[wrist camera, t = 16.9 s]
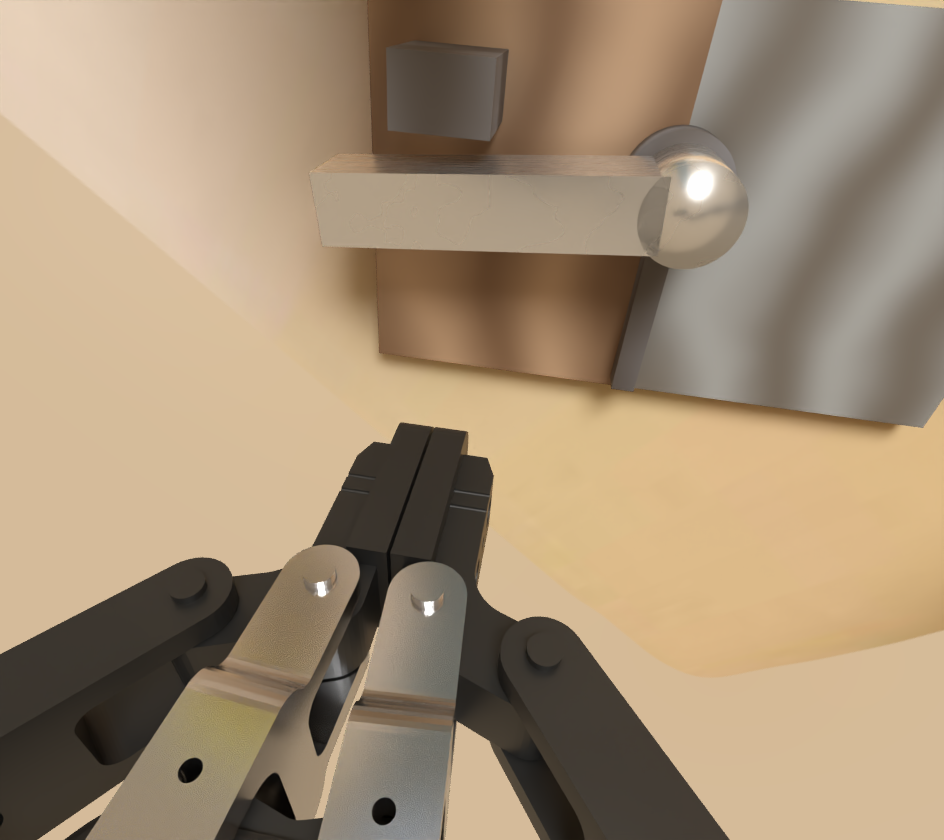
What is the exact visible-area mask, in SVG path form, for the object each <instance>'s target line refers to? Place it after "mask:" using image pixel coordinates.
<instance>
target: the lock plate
mask: <svg viewBox="0 0 944 840" xmlns="http://www.w3.org/2000/svg"><path fill="white" fill-rule="evenodd" d="M367 2H368V31H369V61H370V91H371V120H372V150H373V154H451V155H600V156H653V155H654V154H656V153H657V152H659V151H660V150H662V149H664V148H666V147H669V146H672V145H675V144H680V143H695V144H700V145H703V146H705V147H708V148H709V149H711V150H713V151H714V152H715V153H716V154H717V155H718V156H719V157H720V158H721V159H722V160H723V161H724V163H725V164H726V165H727V166H728V167H729V168H730V169H731V170H732V171H733V173H734V174H735V175H736V176H737V177H738V178H739V179H740V181H741V182H742V184H743V185H744V187H745V190H746V192H747V196H748V204H749V210H748V217H747V221H746V225H745V227H744V230H743V232H742V234H741V235H740V237H739V239H738V240H737V241H736V243H735V244H734V245H733V246H732V247H731V249H730V250H729V251H728V252H726V253H725V254H724V255H723V256H721V257H720V258H718V259H717V260H715V261H713V262H711V263H709V264H707V265H705V266H702V267H698V268H694V269H673V268H669V267H666V266H663V265H661V264H659V263H657V262H656V261H654V260H653V259H652V258H651V257H650V256H622V255H589V254H555V253H521V252H487V251H453V250H419V249H386V248H376V269H377V299H378V328H379V353H385V354H392V355H399V356H406V357H414V358H421V359H428V360H435V361H443V362H450V363H457V364H464V365H472V366H479V367H486V368H493V369H500V370H508V371H515V372H522V373H529V374H537V375H544V376H551V377H558V378H566V379H573V380H580V381H587V382H595V383H602V384H609V385H611V389H618V390H625V391H632V392H633V391H634V388H638V389H645V390H652V391H660V392H667V393H674V394H681V395H689V396H696V397H703V398H710V399H718V400H725V401H732V402H739V403H747V404H754V405H761V406H768V407H776V408H783V409H790V410H797V411H804V412H812V413H819V414H826V415H833V416H841V417H848V418H855V419H862V420H870V421H877V422H884V423H891V424H899V425H906V426H913V427H920V428H923V427H924V425H925V424H926V423H927V421H928V420H929V418H930V417H931V415H932V414H933V412H934V411H935V410H936V408H937V407H938V405H939V404H940V402H941V401H942V399H943V398H944V9H942V8H930V7H918V6H906V5H894V4H882V3H870V2H858V1H846V0H367Z"/></svg>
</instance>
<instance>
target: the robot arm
mask: <svg viewBox="0 0 944 840" xmlns="http://www.w3.org/2000/svg"><path fill="white" fill-rule="evenodd" d="M467 451H468V432H467V431H460V430H452V429H445V428H438V427H435V428H434V427H430V426H423V425H416V424H409V423H400V424H399V426H398V428H397V430H396V432H395V435H394V437H393V439H392V441H391V444H386V443H379V442H373V443H372V444H371V445H370V446H368V447H367V448H366V449H365V450H364V451H362V452H361V453H360V454H359V455H358V456H357V457H356V460H355V461H354V463H353V466H352V467H351V469H350V471H349V475H348V477H346V480H345V482H344V484H343V486H342V489H341V491H340V492H339V494H338V496H337V498H336V500H335V502H334V504H333V506H332V508H331V510H330V512H329V514H328V516H327V518H326V520H325V522H324V524H323V526H322V528H321V530H320V532H319V534H318V536H317V538H316V540H315V542H314V544H313V546H312V547H310V548H307V549H305V550H303V551H301V552H299V553H297V554H296V555H295V556H293V557H292V558H291V559H290V560H289V561H288V562H287V563H286V565H285V566H284V568H283V569H280V570H277V571H273V572H267V573H260V574H250V575H242V576H233V577H232V574H231V572H230V571H229V568H228V567H227V566H226V565H225V564H224V563H222V562H221V561H218V560H216V559H212V558H193V559H188V560H185V561H182V562H179V563H177V564H175V565H173V566H171V567H169V568H167V569H165V570H163V571H161V572H159V573H158V574H155V575H153V576H152V577H150V578H148V579H146V580H144V581H142V582H140V583H138V584H136V585H134V586H132V587H130V588H128V589H127V590H124V591H122V592H121V593H118V594H116V595H115V596H113V597H111V598H109V599H107V600H105V601H103V602H101V603H99V604H97V605H95V606H93V607H91V608H89V609H87V610H85V611H83V612H81V613H80V614H78V615H76V616H74V617H72V618H70V619H68V620H66V621H64V622H62V623H60V624H58V625H56V626H54V627H52V628H50V629H49V630H46V631H45V632H43V633H41V634H39V635H37V636H35V637H33V638H31V639H29V640H27V641H25V642H23V643H21V644H20V645H17V646H15V647H13V648H12V649H10V650H8V651H6V652H4V653H2V654H0V840H37V839H39V838H40V837H42V836H43V835H45V834H46V833H48V832H49V831H51V830H52V829H53V828H55V827H56V826H58V825H59V824H61V823H62V822H64V821H65V820H66V819H68V818H69V817H71V816H72V815H74V814H75V813H77V812H78V811H80V810H81V809H83V808H84V807H85V806H87V805H88V804H90V803H91V802H93V801H94V800H96V799H97V798H98V797H100V796H101V795H103V794H104V793H106V792H107V791H109V790H110V789H112V788H113V787H114V786H116V785H117V784H119V783H120V782H122V781H123V780H124V781H123V783H122V785H121V786H120V788H119V789H118V791H117V792H116V794H115V795H114V797H113V798H112V800H111V801H110V803H109V804H108V806H107V807H106V809H105V810H104V812H103V813H102V815H100V816H98V817H97V818H95V819H93V820H92V821H90V822H88V823H87V824H85V825H84V826H83V827H81V828H80V829H78V830H77V831H76V832H74V833H73V834H71V835H70V836H69V837H67V838H66V839H65V840H445V834H446V824H447V814H448V802H449V792H450V782H451V772H452V763H453V752H454V743H455V734H456V725H457V721H458V722H459V723H461V724H463V725H464V726H466V727H468V728H469V729H471V730H473V731H474V732H476V733H477V734H479V735H481V736H482V737H484V738H486V739H487V740H489V741H490V743H491V746H492V749H493V751H494V753H495V755H496V757H497V759H498V761H499V763H500V764H501V766H502V768H503V770H504V772H505V774H506V776H507V778H508V780H509V781H510V783H511V785H512V787H513V789H514V791H515V792H516V795H517V796H518V798H519V800H520V802H521V804H522V806H523V808H524V809H525V811H526V813H527V815H528V817H529V819H530V821H531V823H532V825H533V827H534V828H535V830H536V832H537V834H538V836H539V838H540V840H729V838H728V837H727V836H726V834H725V833H724V832H723V830H722V829H721V828H720V826H719V825H718V824H717V822H716V821H715V820H714V818H713V817H712V816H711V814H710V813H709V812H708V810H707V809H706V807H705V806H704V805H703V803H702V802H701V801H700V800H699V798H698V797H697V795H696V794H695V793H694V792H693V790H692V789H691V788H690V786H689V785H688V783H687V782H686V781H685V779H684V778H683V777H682V775H681V774H680V773H679V771H678V770H677V769H676V767H675V766H674V765H673V763H672V762H671V761H670V759H669V758H668V756H667V755H666V754H665V752H664V751H663V750H662V749H661V747H660V746H659V744H658V743H657V742H656V740H655V739H654V738H653V736H652V735H651V734H650V732H649V731H648V730H647V728H646V727H645V726H644V724H643V723H642V722H641V720H640V719H639V718H638V716H637V715H636V714H635V712H634V711H633V710H632V708H631V707H630V706H629V704H628V703H627V701H626V700H625V699H624V697H623V696H622V695H621V694H620V692H619V691H618V689H617V688H616V687H615V685H614V684H613V683H612V681H611V680H610V679H609V678H608V676H607V675H606V673H605V672H604V671H603V669H602V668H601V667H600V666H599V664H598V663H597V661H596V660H595V659H594V657H593V656H592V655H591V653H590V652H589V651H588V649H587V648H586V646H585V645H584V644H583V642H582V641H581V640H580V638H579V637H578V636H577V635H576V634H575V632H573V631H572V630H571V629H570V628H569V627H568V626H566V625H565V624H563V623H561V622H559V621H557V620H555V619H551V618H548V617H530V618H526V619H523V620H520V621H519V622H518V621H516V620H514V619H512V618H510V617H508V616H506V615H504V614H502V613H500V612H499V611H497V610H495V609H494V608H492V607H491V606H490V605H489V604H488V603H487V602H486V601H485V600H484V599H483V597H482V596H481V594H480V593H479V591H478V588H477V584H478V579H479V573H480V568H481V563H482V557H483V552H484V547H485V542H486V536H487V531H488V526H489V518H490V507H491V497H492V487H493V477H494V475H493V473H492V470H491V467H490V464H489V462H488V459H487V458H483V457H476V456H470V455H467ZM377 627H379V629H378V633H377V637H376V641H375V645H374V650H373V653H372V658H371V662H370V666H369V670H368V674H367V678H366V682H365V686H364V690H363V694H362V696H361V698H360V700H359V701H356V702H355V704H354V706H353V708H352V710H351V713H350V716H349V719H348V723H347V727H346V730H345V735H344V738H343V742H342V746H341V750H340V754H339V758H338V762H337V766H336V770H335V774H334V778H333V782H332V786H331V790H330V793H329V797H328V801H327V805H326V809H325V813H324V817H323V818H318V819H314V817H315V815H316V812H317V809H318V806H319V803H320V799H321V796H322V791H323V786H324V780H325V773H326V769H327V765H328V762H329V759H330V756H331V754H332V751H333V749H334V747H335V744H336V742H337V739H338V737H339V734H340V732H341V729H342V727H343V725H344V722H345V720H346V717H347V715H348V712H349V710H350V707H351V705H352V703H353V700H354V698H355V695H356V693H357V690H358V688H359V685H360V683H361V680H362V678H363V676H364V673H365V670H366V669H367V666H368V662H369V650H370V647H371V644H372V641H373V638H374V635H375V632H376V629H377Z"/></svg>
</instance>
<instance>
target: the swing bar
mask: <svg viewBox="0 0 944 840" xmlns="http://www.w3.org/2000/svg"><path fill="white" fill-rule="evenodd" d="M309 176H310V181H311V187H312V192H313V198H314V203H315V209H316V214H317V220H318V226H319V231H320V237H321V242H322V247H352V248H386V249H419V250H453V251H487V252H521V253H555V254H589V255H622V256H650V257H651V258H652V259H653V260H654V261H656V262H657V263H659V264H661V265H663V266H666V267H669V268H673V269H694V268H698V267H702V266H705V265H707V264H709V263H711V262H713V261H715V260H717V259H718V258H720V257H721V256H723V255H724V254H725V253H726V252H728V251H729V250H730V249H731V247H732V246H733V245H734V244H735V243H736V241H737V240H738V239H739V237H740V235H741V234H742V232H743V230H744V227H745V225H746V221H747V217H748V210H749V204H748V196H747V192H746V190H745V187H744V185H743V184H742V182H741V181H740V179H739V178H738V177H737V176H736V175H735V174H734V173H733V171H732V170H731V169H730V168H729V167H728V166H727V165H726V164H725V163H724V161H723V160H722V159H721V158H720V157H719V156H718V155H717V154H716V153H715V152H714V151H713V150H711V149H709V148H708V147H705V146H703V145H700V144H695V143H680V144H675V145H672V146H669V147H666V148H664V149H662V150H660V151H659V152H657V153H656V154H654V155H653V156H600V155H451V154H337V155H336V156H334V157H332V158H331V159H329V160H328V161H326V162H325V163H323V164H321V165H320V166H318V167H317V168H315V169H314V170H312V171H311V172H309Z"/></svg>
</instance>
